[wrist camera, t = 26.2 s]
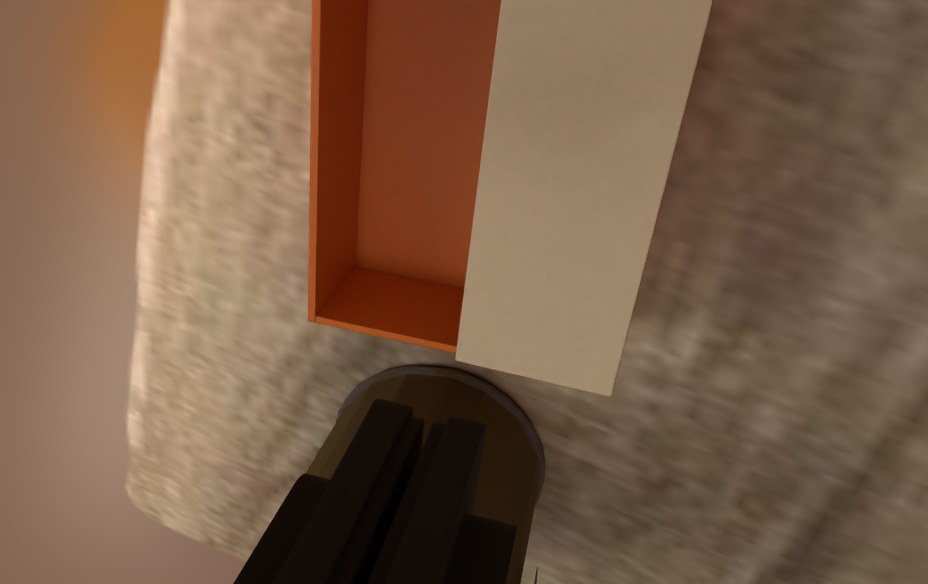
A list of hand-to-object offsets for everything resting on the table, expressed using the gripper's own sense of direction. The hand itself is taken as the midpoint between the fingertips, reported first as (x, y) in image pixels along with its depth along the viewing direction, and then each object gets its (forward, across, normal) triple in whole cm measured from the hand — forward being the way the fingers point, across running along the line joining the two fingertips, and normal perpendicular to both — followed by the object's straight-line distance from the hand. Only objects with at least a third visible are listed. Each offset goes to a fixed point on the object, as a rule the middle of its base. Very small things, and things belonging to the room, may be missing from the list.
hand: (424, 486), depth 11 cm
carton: (+19, +2, 0) cm, 19 cm away
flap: (+14, -1, 0) cm, 14 cm away
